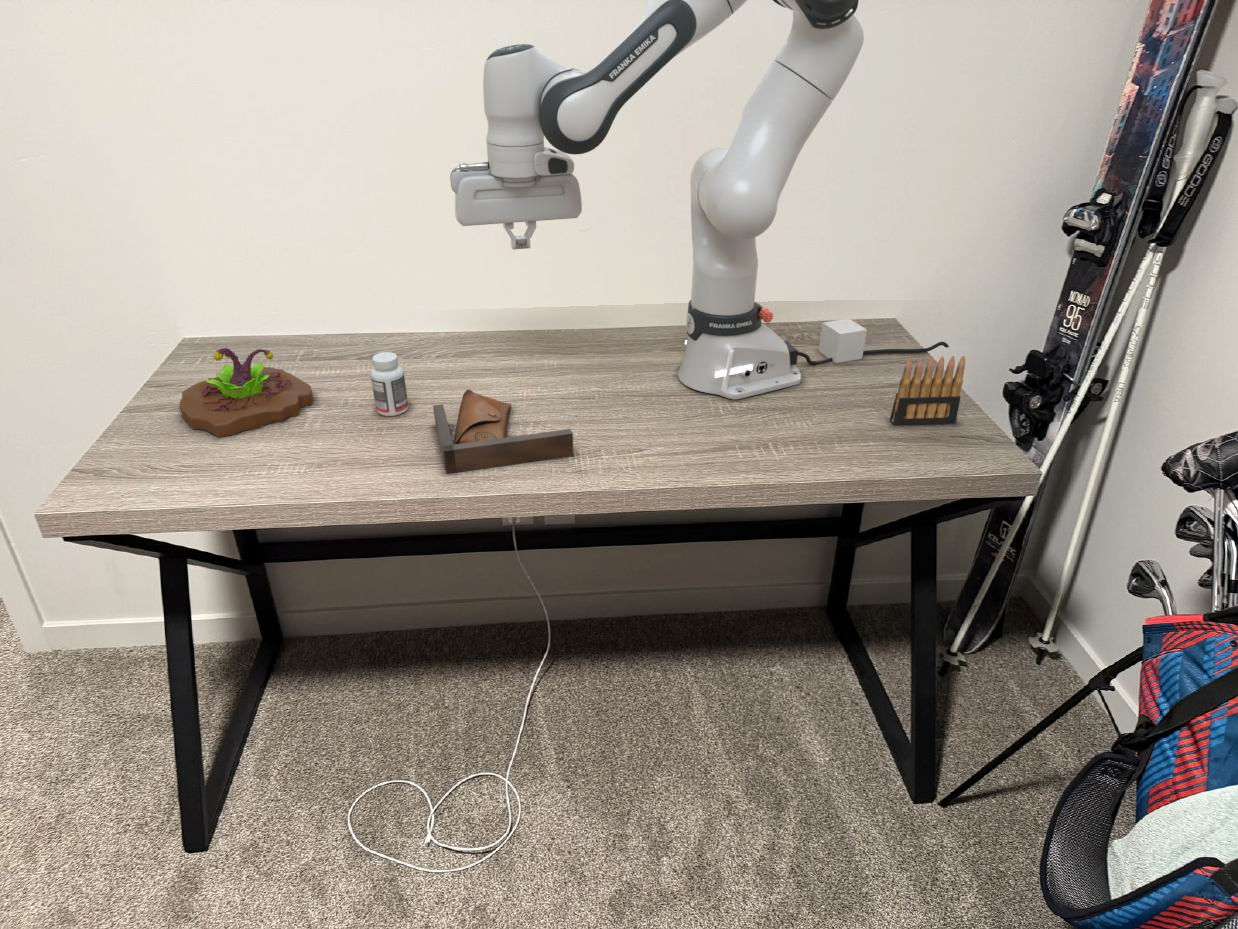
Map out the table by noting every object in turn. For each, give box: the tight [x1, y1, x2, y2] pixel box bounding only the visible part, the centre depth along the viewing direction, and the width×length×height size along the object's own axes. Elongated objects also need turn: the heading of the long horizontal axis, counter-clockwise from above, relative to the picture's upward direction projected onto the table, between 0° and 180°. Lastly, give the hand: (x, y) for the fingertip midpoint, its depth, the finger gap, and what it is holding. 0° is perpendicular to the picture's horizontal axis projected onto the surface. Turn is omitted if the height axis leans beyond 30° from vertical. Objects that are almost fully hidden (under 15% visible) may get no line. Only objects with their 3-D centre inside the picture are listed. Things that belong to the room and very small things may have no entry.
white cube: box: [818, 318, 868, 364], centre depth 164 cm, size 6×6×6 cm
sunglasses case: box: [453, 388, 512, 445], centre depth 138 cm, size 18×7×7 cm
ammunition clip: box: [889, 355, 966, 427], centre depth 140 cm, size 11×2×12 cm, turn 94°
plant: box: [179, 347, 314, 438], centre depth 143 cm, size 20×20×11 cm
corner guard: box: [432, 404, 574, 475], centre depth 135 cm, size 20×15×4 cm
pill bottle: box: [370, 351, 409, 417], centre depth 142 cm, size 5×5×10 cm
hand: (520, 247), depth 140 cm, fingers closed
